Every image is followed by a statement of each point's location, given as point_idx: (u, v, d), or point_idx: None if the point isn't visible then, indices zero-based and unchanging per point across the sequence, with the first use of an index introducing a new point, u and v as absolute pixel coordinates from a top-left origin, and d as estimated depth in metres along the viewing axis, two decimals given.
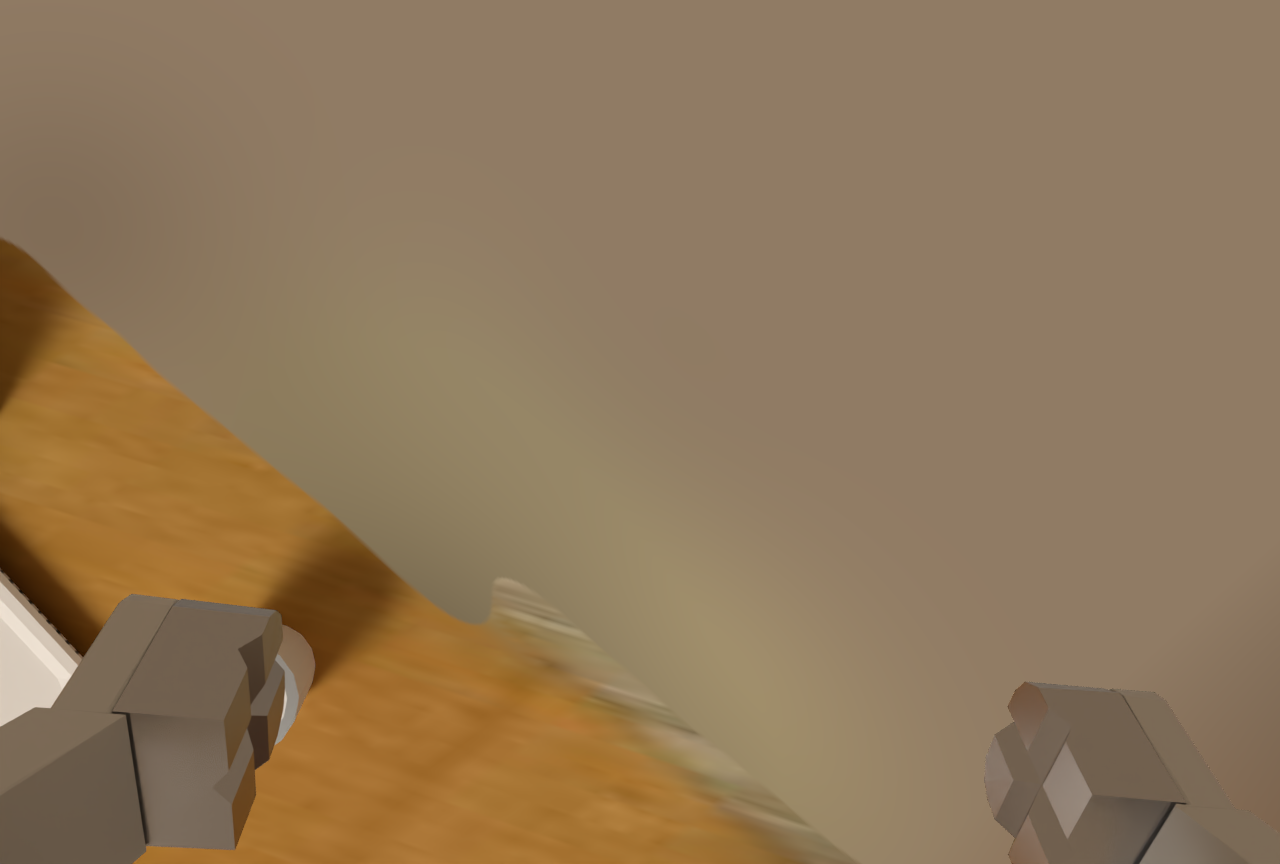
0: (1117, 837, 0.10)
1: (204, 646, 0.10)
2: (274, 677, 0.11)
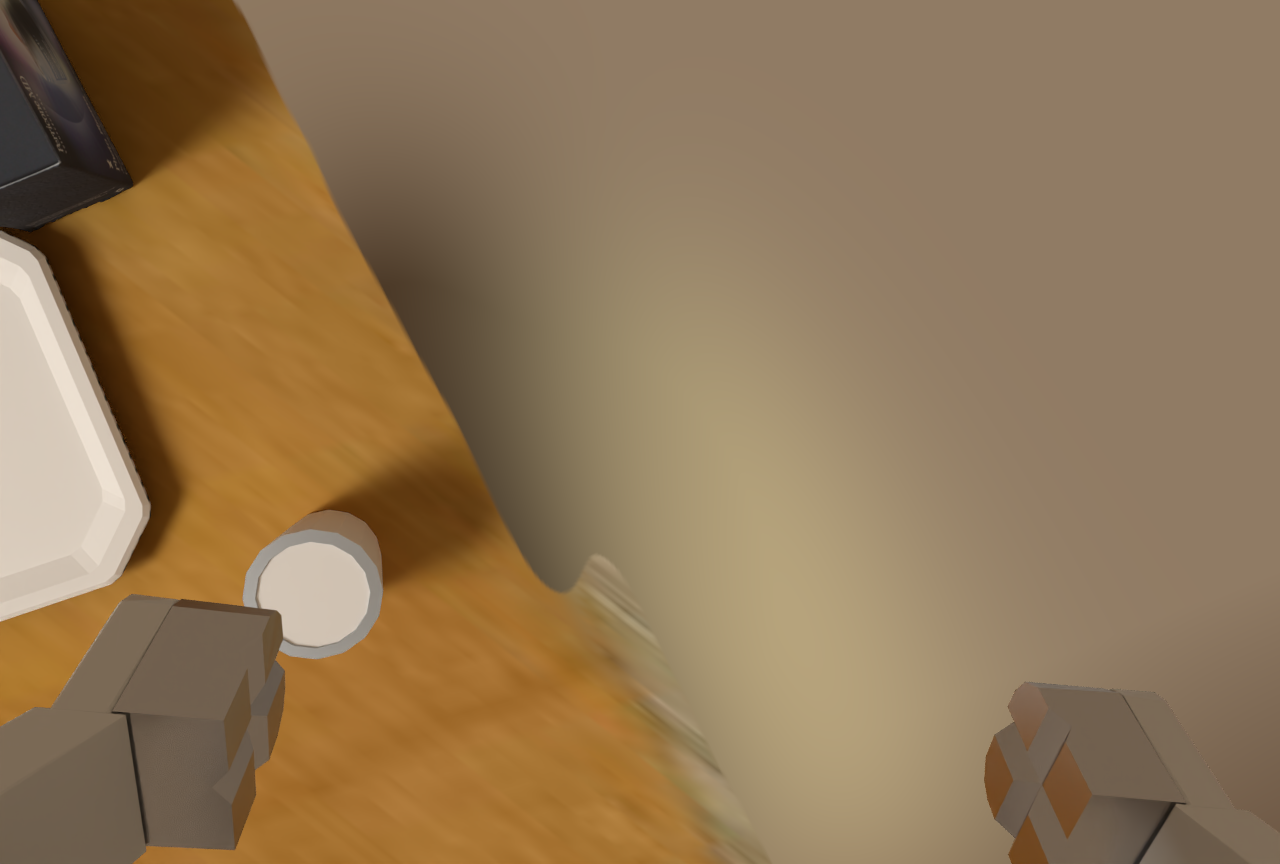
0: (1117, 837, 0.10)
1: (204, 646, 0.10)
2: (274, 677, 0.11)
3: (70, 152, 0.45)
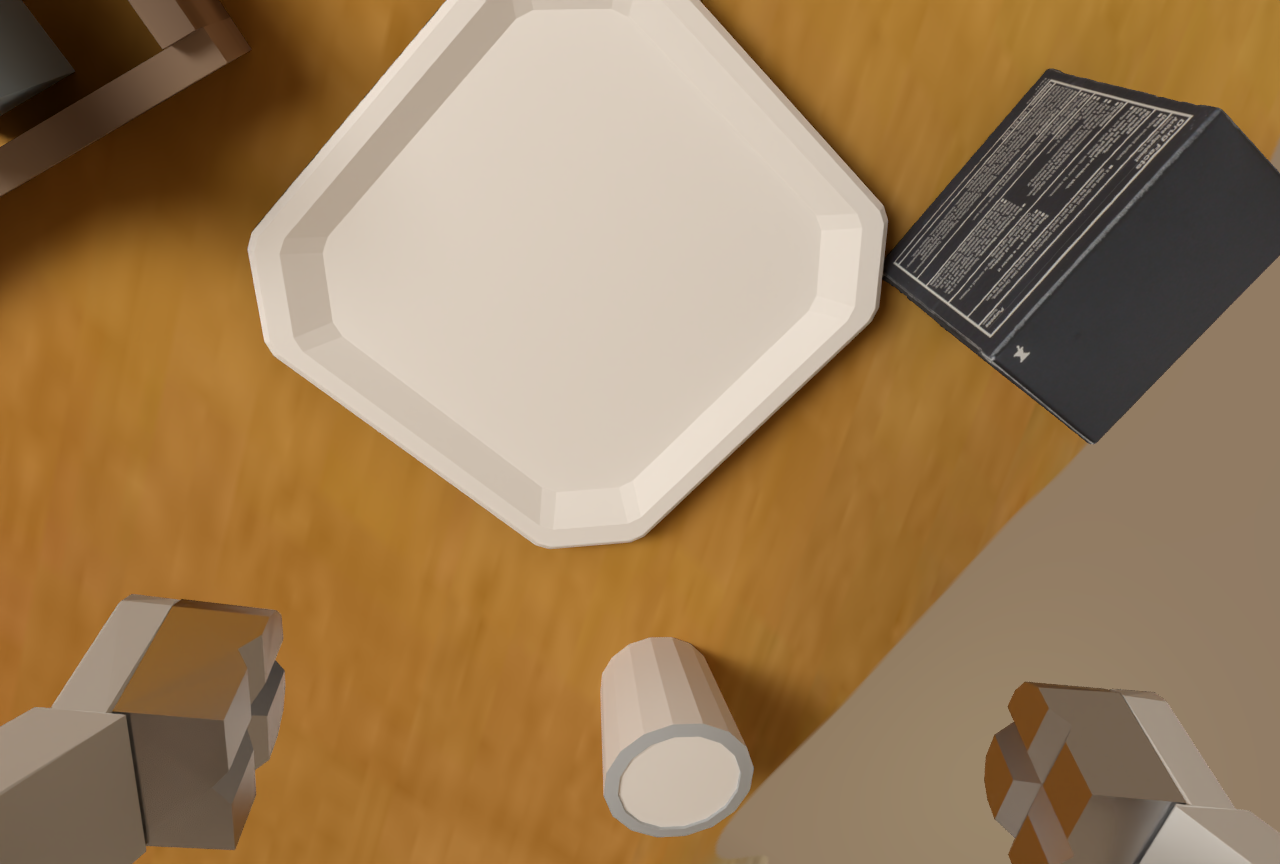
0: (1117, 837, 0.10)
1: (204, 646, 0.10)
2: (274, 677, 0.11)
3: None
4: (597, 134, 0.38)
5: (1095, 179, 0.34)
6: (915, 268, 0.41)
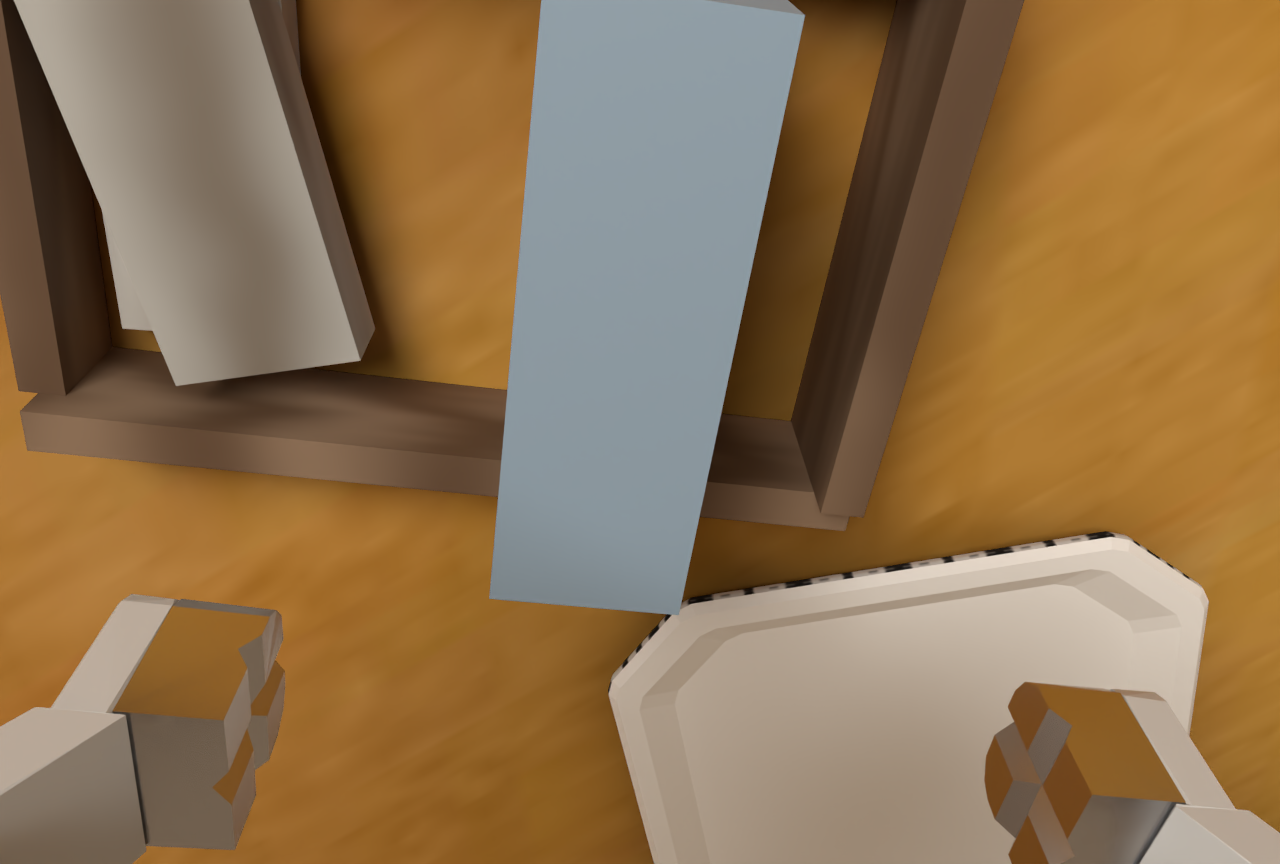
0: (1117, 837, 0.10)
1: (204, 646, 0.10)
2: (274, 677, 0.11)
3: None
4: None
5: None
6: None
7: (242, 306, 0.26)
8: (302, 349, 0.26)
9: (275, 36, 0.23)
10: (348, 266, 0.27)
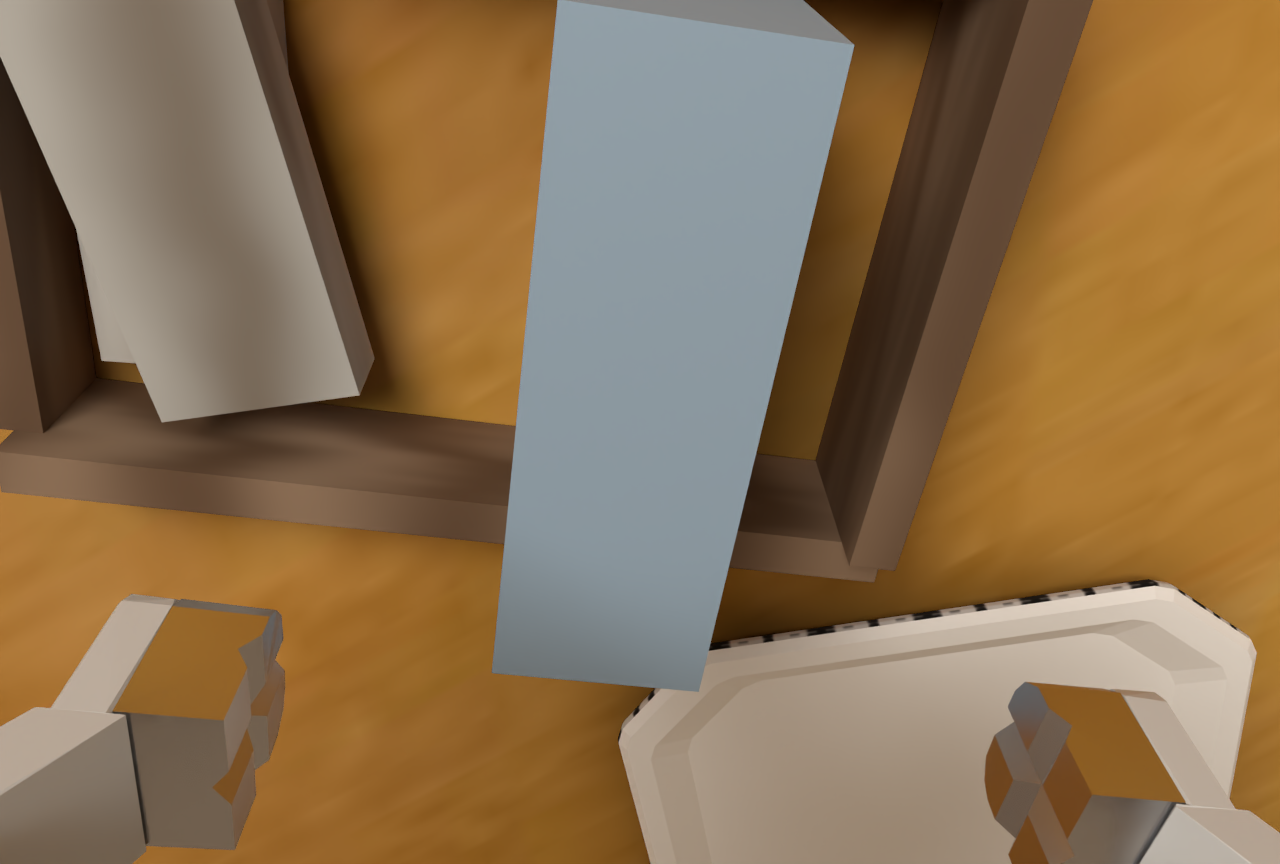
0: (1117, 837, 0.10)
1: (204, 646, 0.10)
2: (274, 677, 0.11)
3: None
4: None
5: None
6: None
7: (232, 339, 0.24)
8: (297, 383, 0.25)
9: (267, 49, 0.22)
10: (346, 294, 0.25)
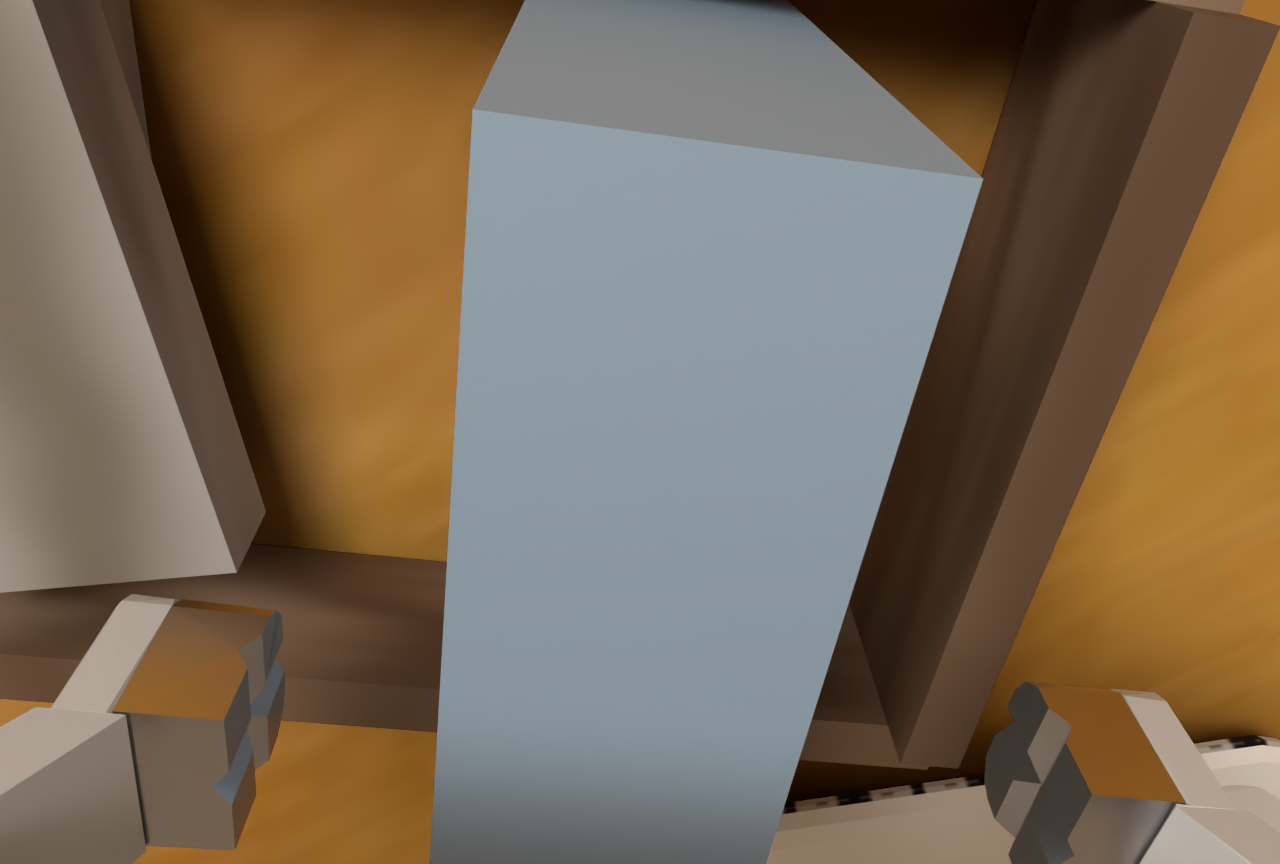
0: (1117, 837, 0.10)
1: (204, 646, 0.10)
2: (274, 677, 0.11)
3: None
4: None
5: None
6: None
7: (67, 501, 0.18)
8: (154, 556, 0.19)
9: (116, 137, 0.16)
10: (226, 441, 0.19)
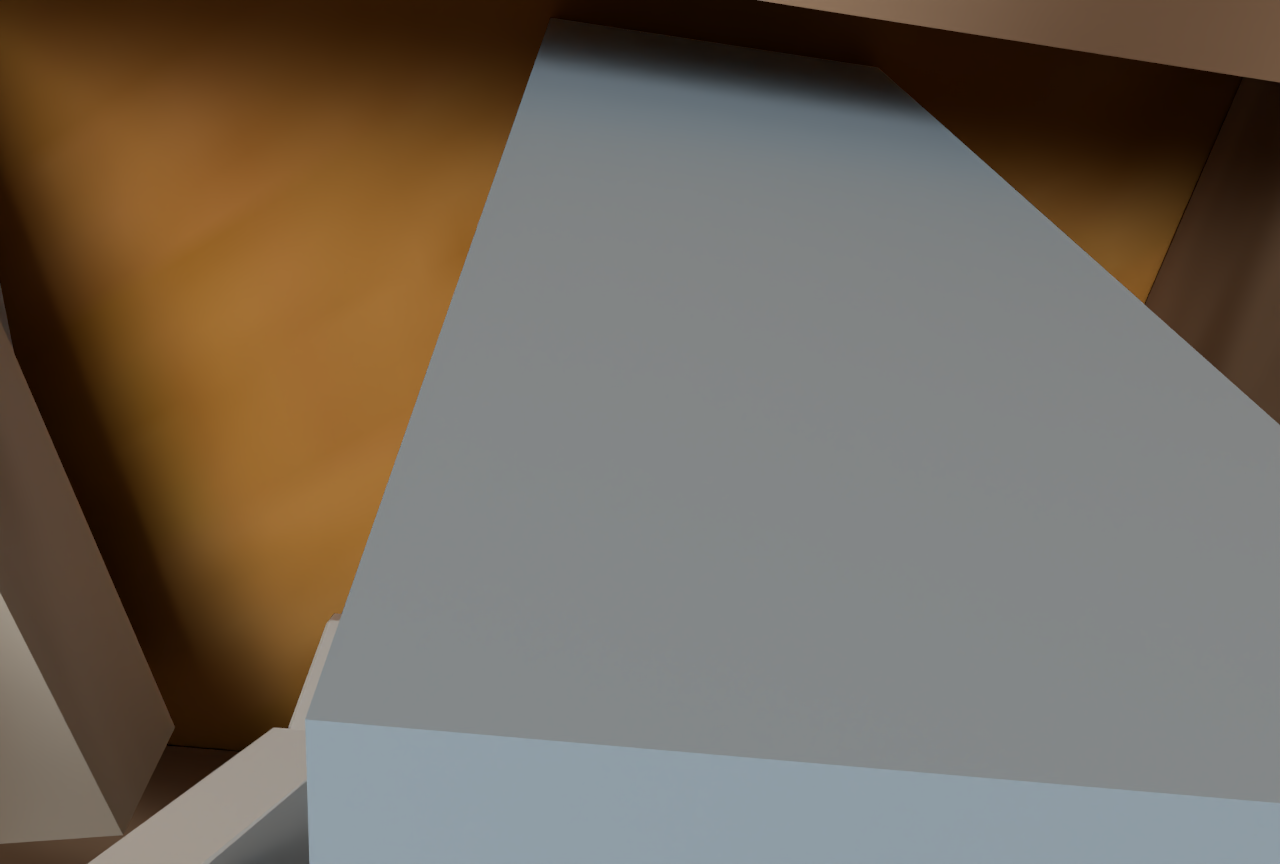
0: None
1: None
2: None
3: None
4: None
5: None
6: None
7: None
8: (10, 816, 0.14)
9: None
10: (111, 657, 0.14)
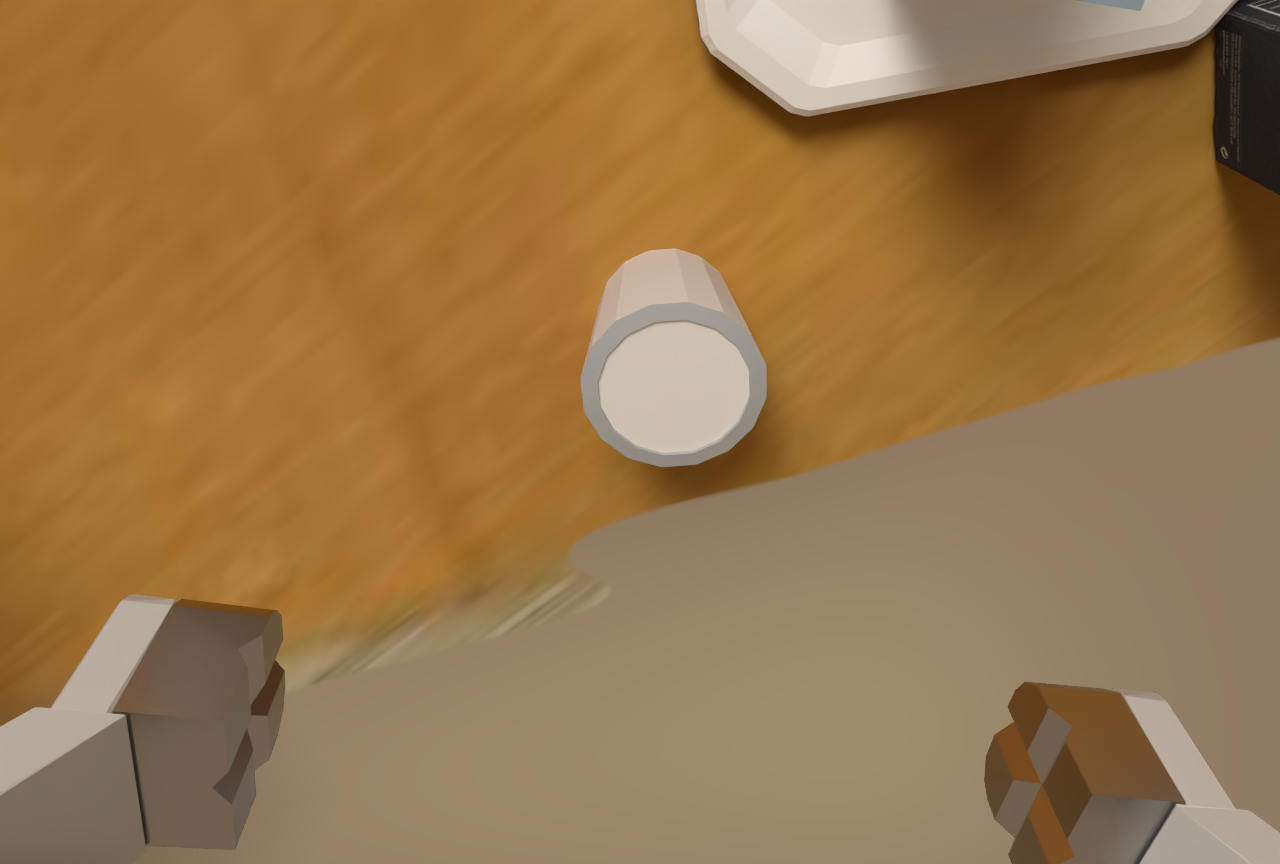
0: (1117, 837, 0.10)
1: (204, 646, 0.10)
2: (274, 677, 0.11)
3: None
4: None
5: None
6: None
7: None
8: None
9: None
10: None
